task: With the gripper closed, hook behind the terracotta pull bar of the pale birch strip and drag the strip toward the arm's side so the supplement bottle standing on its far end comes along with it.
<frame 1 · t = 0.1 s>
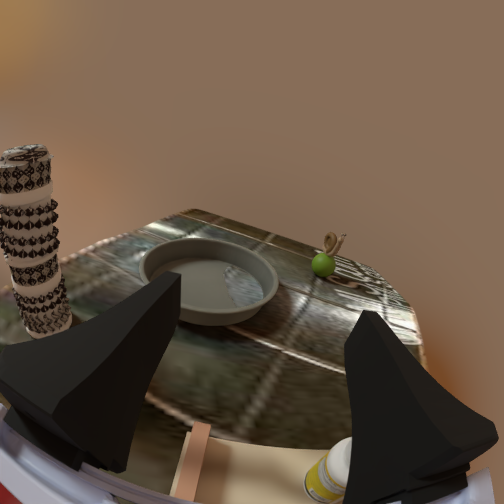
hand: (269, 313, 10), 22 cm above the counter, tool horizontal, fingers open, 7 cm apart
decorative candle: (48, 321, 31), on the counter
strip: (283, 479, 19), point 2 cm above the counter, slide at 0.0 cm, touching supplement bottle
supplement bottle: (325, 484, 19), resting on strip
snail figurine: (320, 277, 61), on the counter
cake pan: (207, 288, 50), on the counter
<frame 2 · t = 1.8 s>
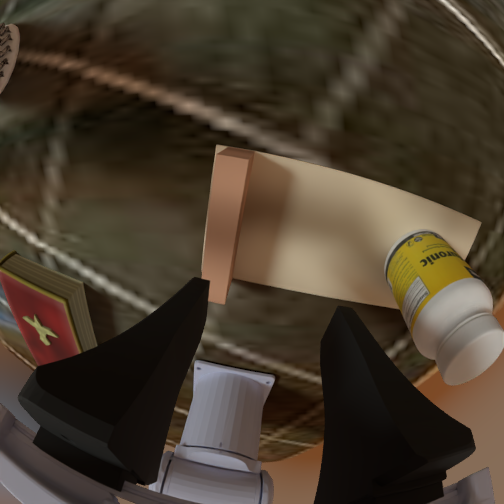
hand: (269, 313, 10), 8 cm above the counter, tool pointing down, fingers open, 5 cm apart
strip: (361, 256, 16), point 2 cm above the counter, slide at 0.0 cm, touching supplement bottle
hardcover book: (66, 328, 28), on the counter
supplement bottle: (413, 258, 18), resting on strip
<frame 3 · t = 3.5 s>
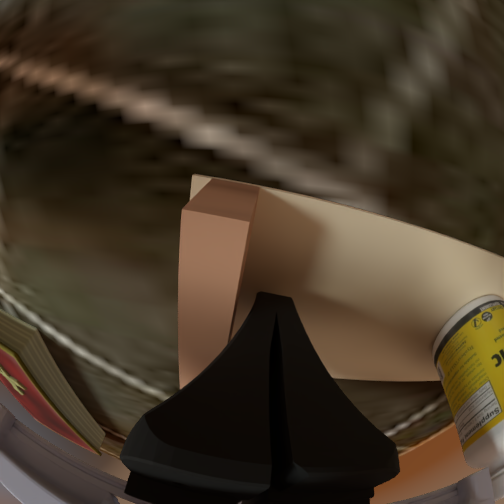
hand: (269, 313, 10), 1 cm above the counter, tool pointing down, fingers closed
strip: (413, 344, 10), point 2 cm above the counter, slide at 0.0 cm, touching supplement bottle, gripper
hardcover book: (43, 373, 21), on the counter
supplement bottle: (468, 327, 11), resting on strip
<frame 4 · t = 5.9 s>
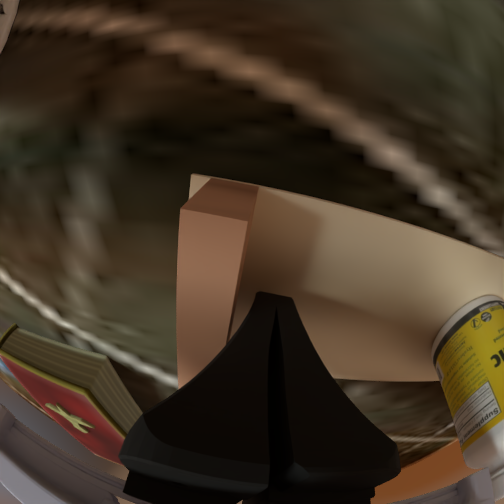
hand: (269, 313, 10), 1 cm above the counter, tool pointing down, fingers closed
strip: (412, 344, 10), point 2 cm above the counter, slide at 8.6 cm, touching supplement bottle
hardcover book: (105, 404, 21), on the counter
supplement bottle: (467, 328, 11), resting on strip
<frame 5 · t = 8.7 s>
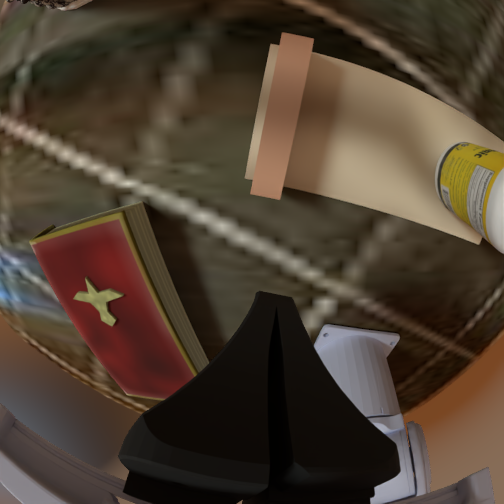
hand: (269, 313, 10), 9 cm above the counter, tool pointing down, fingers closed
strip: (416, 155, 14), point 2 cm above the counter, slide at 8.6 cm, touching supplement bottle
hardcover book: (136, 307, 25), on the counter
supplement bottle: (458, 175, 15), resting on strip
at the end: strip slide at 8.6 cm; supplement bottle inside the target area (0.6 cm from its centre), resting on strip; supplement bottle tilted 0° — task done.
